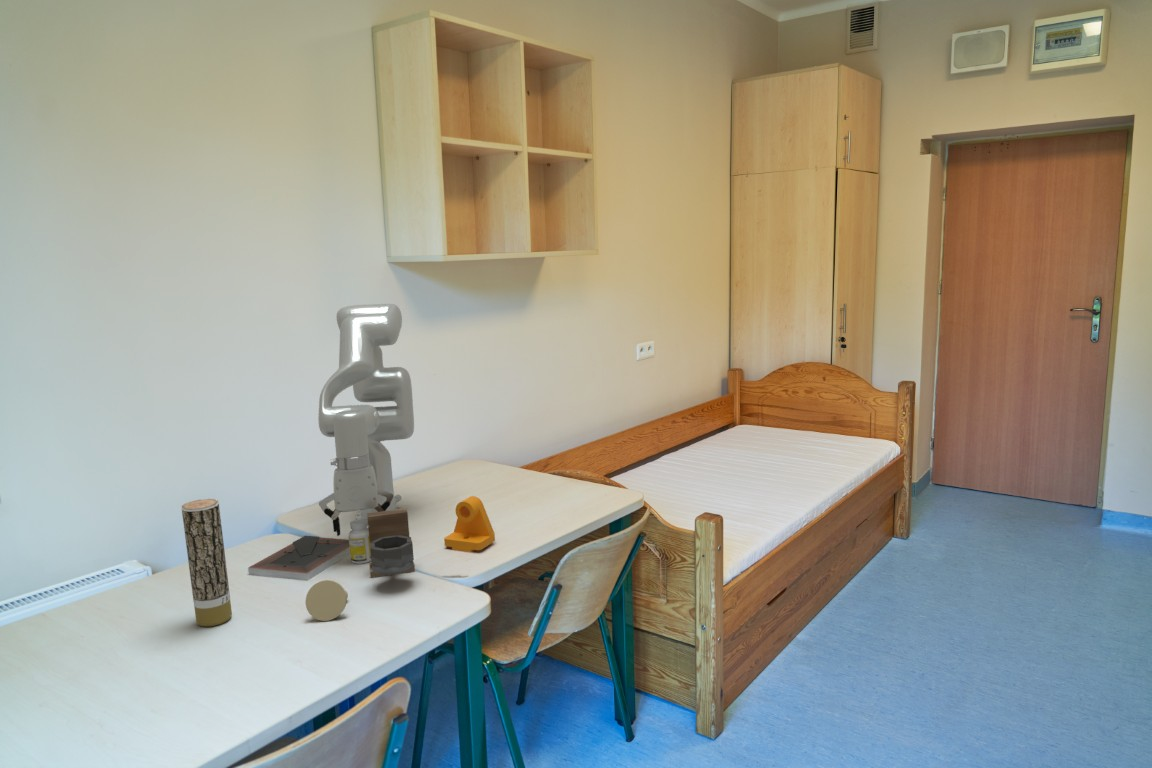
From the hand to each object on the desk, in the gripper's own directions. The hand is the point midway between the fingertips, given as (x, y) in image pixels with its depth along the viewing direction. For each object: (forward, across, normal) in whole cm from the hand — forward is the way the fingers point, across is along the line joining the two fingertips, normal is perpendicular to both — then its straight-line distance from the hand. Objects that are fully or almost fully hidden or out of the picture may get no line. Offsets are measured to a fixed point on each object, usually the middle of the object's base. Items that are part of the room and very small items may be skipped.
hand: (359, 531), depth 193 cm
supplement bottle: (+8, 0, +1) cm, 8 cm away
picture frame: (+8, -13, +6) cm, 17 cm away
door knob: (+9, -7, -26) cm, 29 cm away
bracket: (+8, +26, 0) cm, 27 cm away
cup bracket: (+8, +7, -14) cm, 17 cm away
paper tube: (+8, -30, -22) cm, 38 cm away
